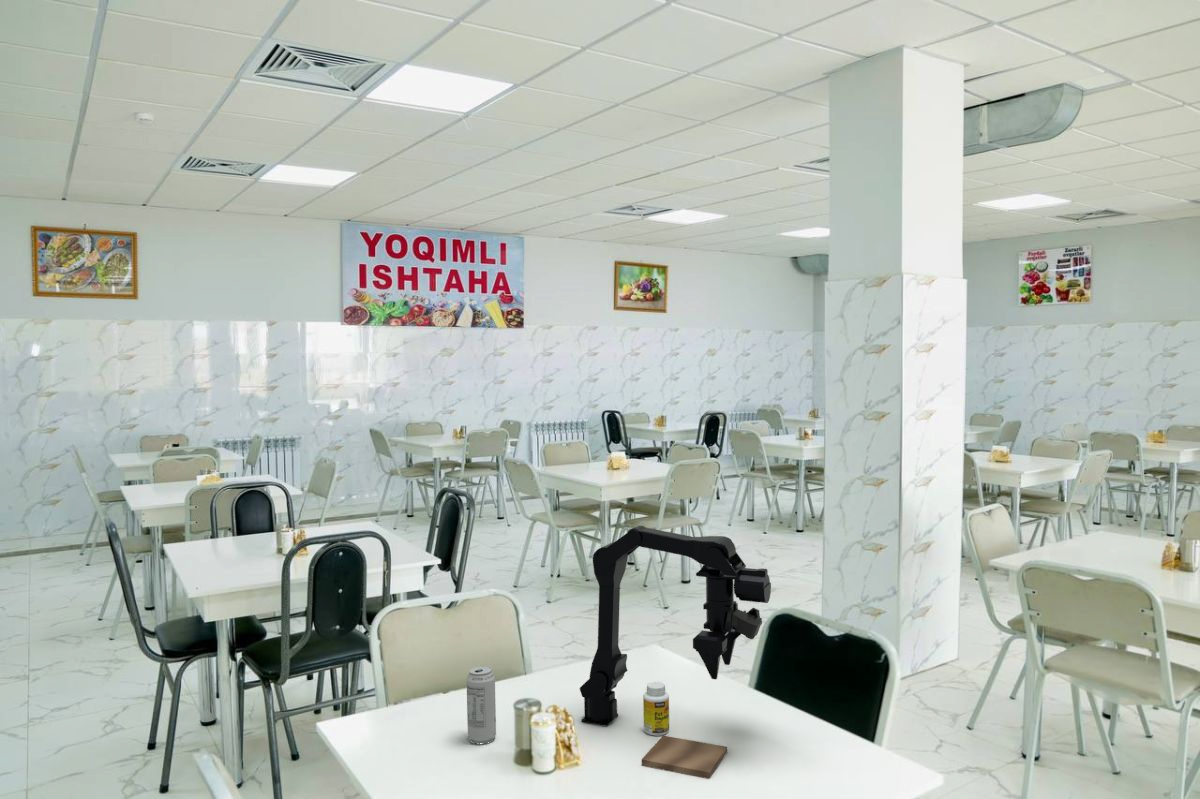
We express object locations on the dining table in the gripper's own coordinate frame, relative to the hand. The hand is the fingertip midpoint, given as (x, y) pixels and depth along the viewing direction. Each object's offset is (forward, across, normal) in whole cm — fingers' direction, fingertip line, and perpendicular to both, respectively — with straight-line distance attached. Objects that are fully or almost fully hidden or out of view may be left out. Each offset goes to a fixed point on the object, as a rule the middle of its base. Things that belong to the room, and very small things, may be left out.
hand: (720, 671), depth 178 cm
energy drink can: (+15, -19, +47) cm, 53 cm away
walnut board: (+15, -11, +4) cm, 19 cm away
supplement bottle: (+15, -1, +14) cm, 21 cm away
